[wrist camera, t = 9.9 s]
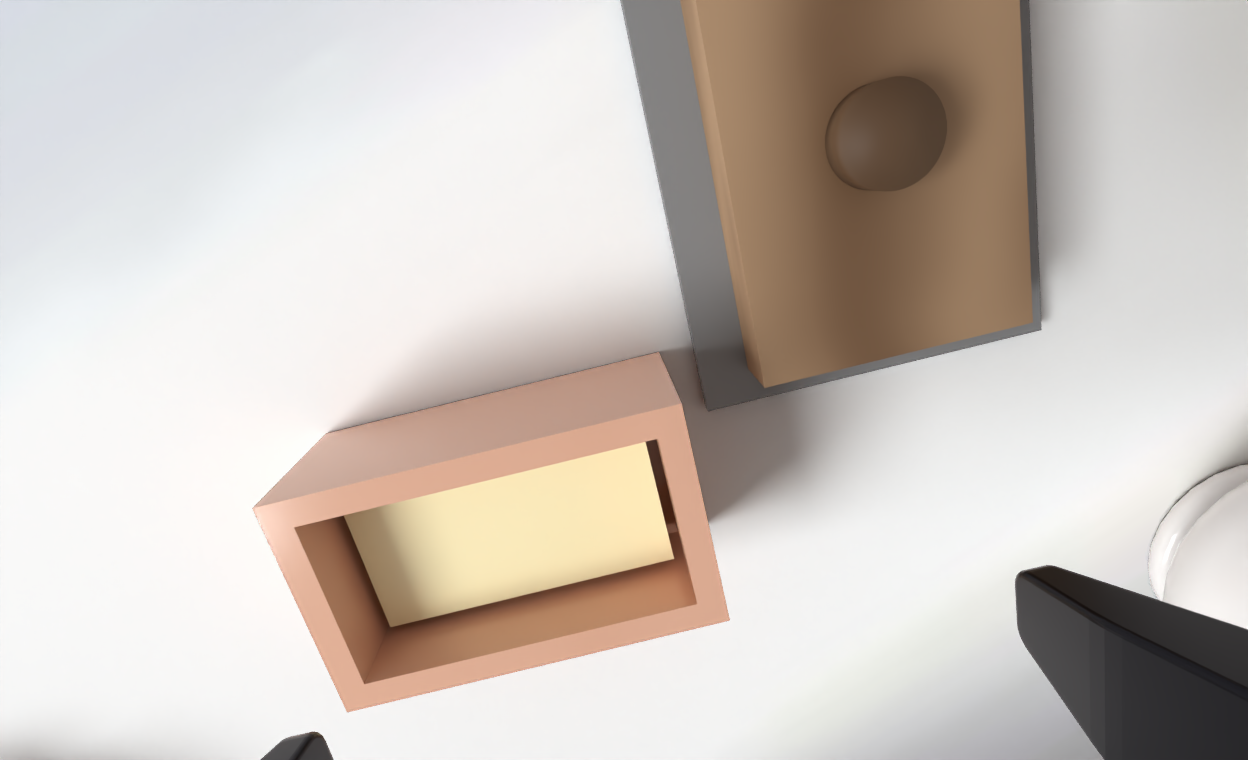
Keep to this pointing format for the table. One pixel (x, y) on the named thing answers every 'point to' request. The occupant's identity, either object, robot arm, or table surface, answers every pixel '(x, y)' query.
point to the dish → (472, 462)
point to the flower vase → (1206, 549)
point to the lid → (865, 173)
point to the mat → (697, 217)
